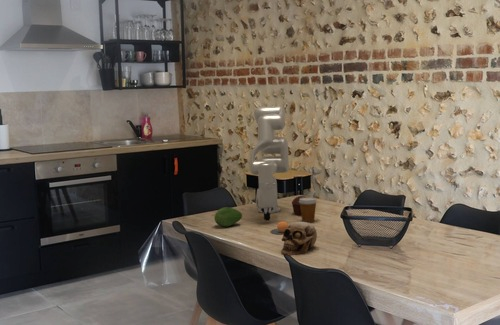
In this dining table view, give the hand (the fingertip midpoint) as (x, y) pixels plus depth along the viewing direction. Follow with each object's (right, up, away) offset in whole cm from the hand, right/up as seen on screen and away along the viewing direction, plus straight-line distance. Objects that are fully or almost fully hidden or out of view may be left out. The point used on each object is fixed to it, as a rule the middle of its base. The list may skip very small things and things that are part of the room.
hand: (267, 220), depth 333 cm
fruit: (-20, -3, -2) cm, 20 cm away
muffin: (+20, +1, +19) cm, 27 cm away
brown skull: (+12, -9, -53) cm, 55 cm away
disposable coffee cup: (+22, -1, +1) cm, 22 cm away
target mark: (+7, -4, -19) cm, 21 cm away
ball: (+7, -1, -22) cm, 23 cm away
